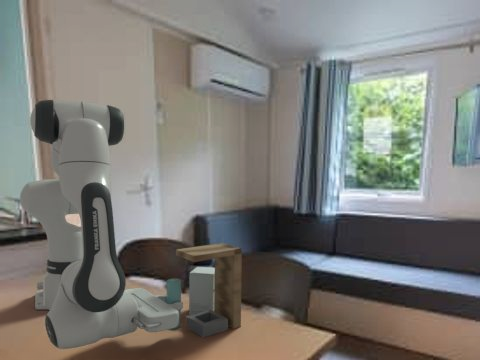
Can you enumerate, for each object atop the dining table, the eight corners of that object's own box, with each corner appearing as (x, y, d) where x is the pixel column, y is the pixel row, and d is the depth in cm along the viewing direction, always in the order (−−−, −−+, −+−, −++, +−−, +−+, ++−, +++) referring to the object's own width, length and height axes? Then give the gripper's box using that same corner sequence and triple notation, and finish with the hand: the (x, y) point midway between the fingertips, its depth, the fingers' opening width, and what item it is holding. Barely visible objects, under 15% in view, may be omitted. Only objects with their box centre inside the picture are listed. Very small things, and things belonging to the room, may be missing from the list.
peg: (163, 326, 97) (164, 280, 97) (176, 323, 100) (176, 277, 99) (170, 331, 95) (171, 284, 94) (183, 328, 97) (183, 281, 96)
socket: (186, 327, 104) (186, 316, 104) (211, 320, 109) (211, 309, 109) (202, 337, 97) (202, 326, 97) (228, 329, 103) (228, 318, 102)
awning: (175, 329, 102) (176, 249, 101) (221, 316, 112) (222, 242, 111) (193, 341, 95) (194, 256, 94) (240, 326, 105) (241, 248, 104)
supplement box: (212, 317, 111) (213, 274, 110) (188, 315, 112) (188, 272, 112) (219, 308, 118) (219, 267, 117) (196, 306, 119) (196, 265, 119)
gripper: (143, 315, 80) (199, 301, 89) (108, 288, 96) (158, 278, 105) (143, 345, 81) (198, 328, 89) (108, 313, 97) (158, 301, 105)
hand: (176, 301), depth 97 cm, fingers closed on peg, 4 cm apart
